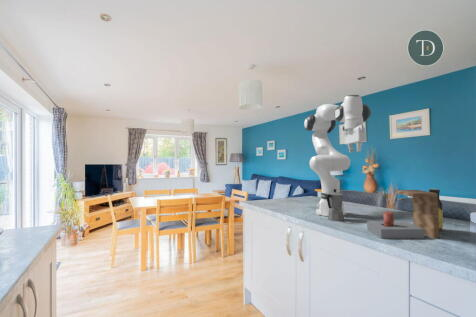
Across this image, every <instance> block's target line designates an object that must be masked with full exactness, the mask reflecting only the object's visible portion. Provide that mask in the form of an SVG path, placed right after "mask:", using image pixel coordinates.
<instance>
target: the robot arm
mask: <svg viewBox="0 0 476 317" xmlns="http://www.w3.org/2000/svg"><path fill="white" fill-rule="evenodd" d="M371 114H372V111H371V109H370V107H369V106H368V105H367V103H363V99H362V96H361V95H360V94H351V95H350V94H349V95H346V96H345V97H344V100H343V101H342V103H341V104H340V105H338V104H337V105H336V104H334V103H333V104H332V103H324V104H321V105H320V106H318V107H317V108H316V111H315V114H313V113H311V114H310V115H308V116H307V117H306V118H304V122H303V123H304V124H303V126H304V129H305V130H306V131H308V132H312V131H313V133H312V136H311V141H312V145H313V148H314V150H315V153H316V154H317V155H314V156H312V157H311V158H310V159H309V168H310V169H311V170H312V171H313V172H315V173H316V175H317V177H318V179H319V180H320V185H321V193H320V200H319V202H318V203H316V207H317V208H316V209H315V213H316V216H317V215H318V216H324V217H328V215H329V207H328V202H327V194H328V193H332V192H334V190H333V189H336V192H337V193H341V188H340V187H341V186H340V184H341V183H340V181H339V179H338V178H336V177H334V176H333V175H332V174H331V172H341V171H343V172H344V171H347V170H348V169H349V168H350V166H351V160H350V157H349V156H348V155H345V154H343V153H341V152H339V151H338V150H337V149H336V148H334V147H333V145H332V143H331V141H330V138H329V137H328V134H330V133H331V132H332V131H333V130H335V128H336V124H337V122H338V123H344V124H343V126H342V128H341V129H342V130H341V131H342V132H343V143H344V145H346V146H347V148H348V150H349V151H348V152H349V153H354V150H356V152H357V153H358V152H360V153H361V152H362V147H363V143H365V142H366V141H367V133H366V128H365V126H364V123H365V122H366V121H368V120H369V118H370V117H371ZM354 144H355V145H356V148H355V149H354V147H353V146H354ZM344 205H345V204H344V201H342V211H343V216H346V215H347V213H348V212H345V206H344Z"/></svg>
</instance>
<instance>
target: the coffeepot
mask: <svg viewBox="0 0 476 317" xmlns="http://www.w3.org/2000/svg"><path fill="white" fill-rule="evenodd" d="M333 190H334V192H332V193H328V194H327V202H328V207H329V215H328V216H327V219H328V220H329V221H332V222H342V221H344V220H345V215H343V211H342V201H343V199H344V193H341V192H340V193H337V192H336V189H333ZM343 202H344V201H343Z"/></svg>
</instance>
